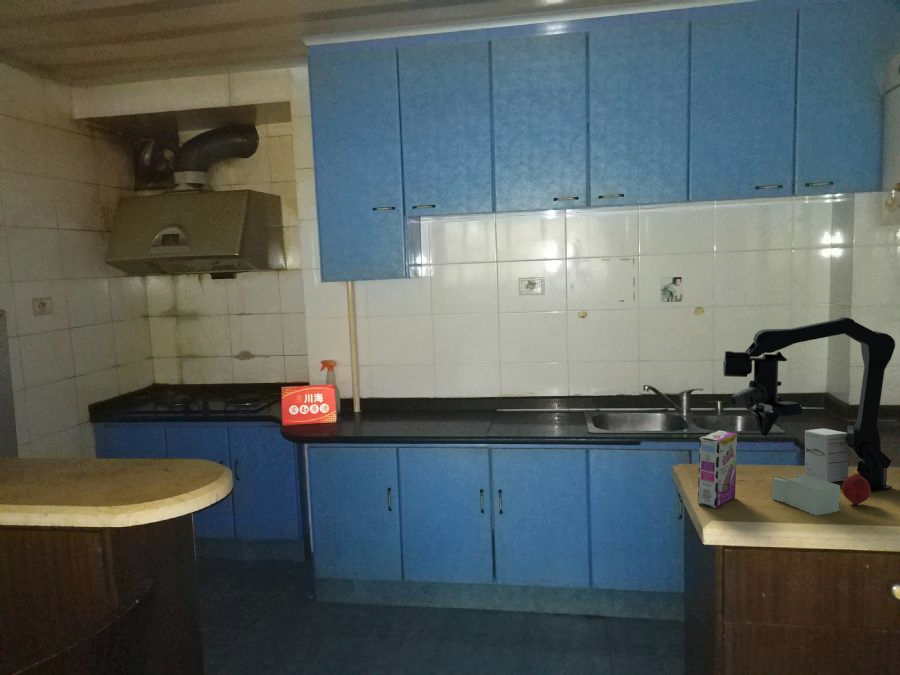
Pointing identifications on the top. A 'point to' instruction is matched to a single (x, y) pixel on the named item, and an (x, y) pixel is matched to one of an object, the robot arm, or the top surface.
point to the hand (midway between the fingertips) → (764, 435)
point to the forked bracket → (808, 494)
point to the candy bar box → (717, 468)
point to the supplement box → (826, 454)
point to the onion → (856, 488)
